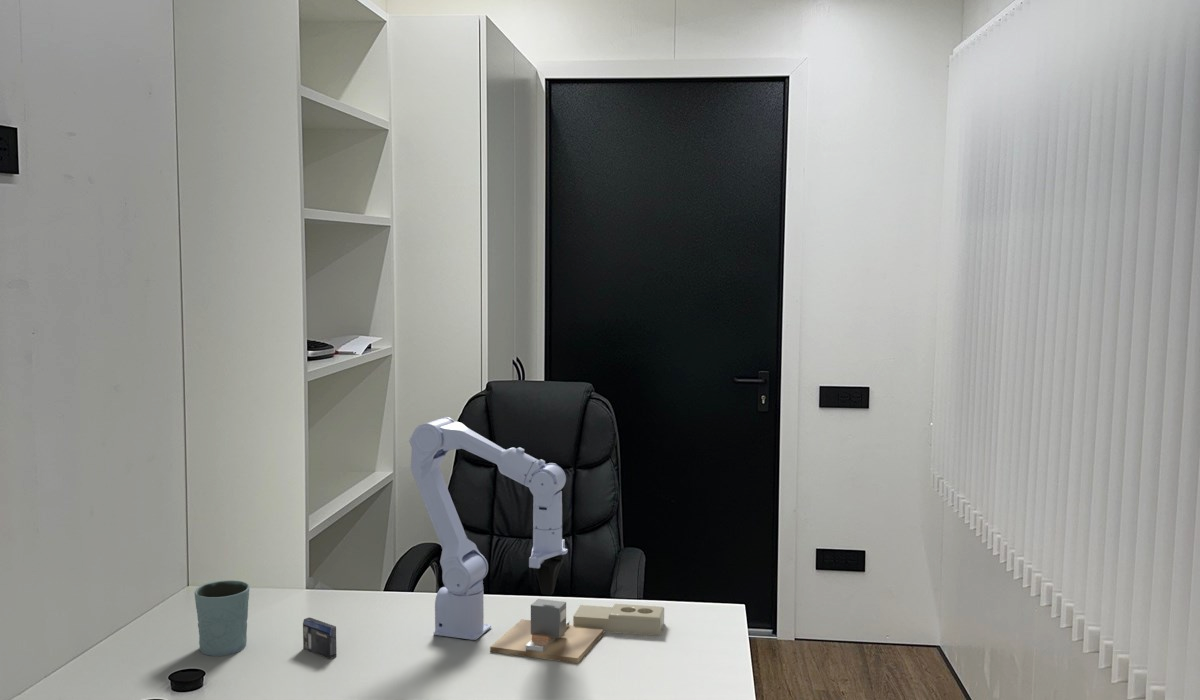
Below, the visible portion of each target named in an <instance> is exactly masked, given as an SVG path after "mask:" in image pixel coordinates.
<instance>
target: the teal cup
mask: <svg viewBox="0 0 1200 700" xmlns="http://www.w3.org/2000/svg"><path fill="white" fill-rule="evenodd" d="M250 588H251V587H250V585H249V584H248V583H247V582H246V581H245V582H244V581H241V580H233V579H232V580H217V581H212V582H208V583H205V584H204V583H203V584H202V585H200V586H198V587H196V588H195V590H194V601H195V609H196V614H197V616H196V617H197V622H198V623H197V627H198V636H199V637H198V639H199V641H198V645H199V646H198V647H199V651H200V653H201V654H203V655H205V656H210V657H213V656H214V657H221V656H229V655H233V654H236V653H238V652H241V651H242V650H244V649H246V647H247V637H248V635H247V630H248V616H249V599H250Z"/></svg>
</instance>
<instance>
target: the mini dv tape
mask: <svg viewBox="0 0 1200 700" xmlns="http://www.w3.org/2000/svg"><path fill="white" fill-rule="evenodd" d="M302 644H303V646H302V648H303V650H306V651H308V652H311V653H313V654H316V655H318V656H322V657H324V658H326V659H329V660H330V659H331V660H332V659H334V658H336V657H337V655H338V654H337V626H336V625H333V624H331V623H327V622H324V621H321V620H319V619H315V618H312V617H310V616H309V617H306V618H304V619H303V621H302Z"/></svg>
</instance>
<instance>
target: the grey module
mask: <svg viewBox="0 0 1200 700" xmlns="http://www.w3.org/2000/svg"><path fill="white" fill-rule="evenodd" d="M530 620H531V635H532V634H533V633H542V634H550V635H551V637H553V638H560V637H561V636H562V635H563V634H564V633H565V632H566V621H567V602H566V601H563V600H561V601H560V600H551V599H543V598H542V599H541V598H537V599H536V600H535V601H533V602H532V603H531V604H530Z"/></svg>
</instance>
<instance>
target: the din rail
mask: <svg viewBox="0 0 1200 700" xmlns="http://www.w3.org/2000/svg"><path fill="white" fill-rule="evenodd" d="M569 625H570V620H569V621H568V620H566V629H567V628H568V627H569ZM556 639H557V638H553V637H551V635H550V634H542V633H533V634H532V640H531V641H530V642H529V643H528V644H527V645H526V650H527V651H535V652H544V651H545V650H546V649H547V648H548V647H549V646H550V645H551V644H552V643H553V642H554V641H555V640H556Z"/></svg>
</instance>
